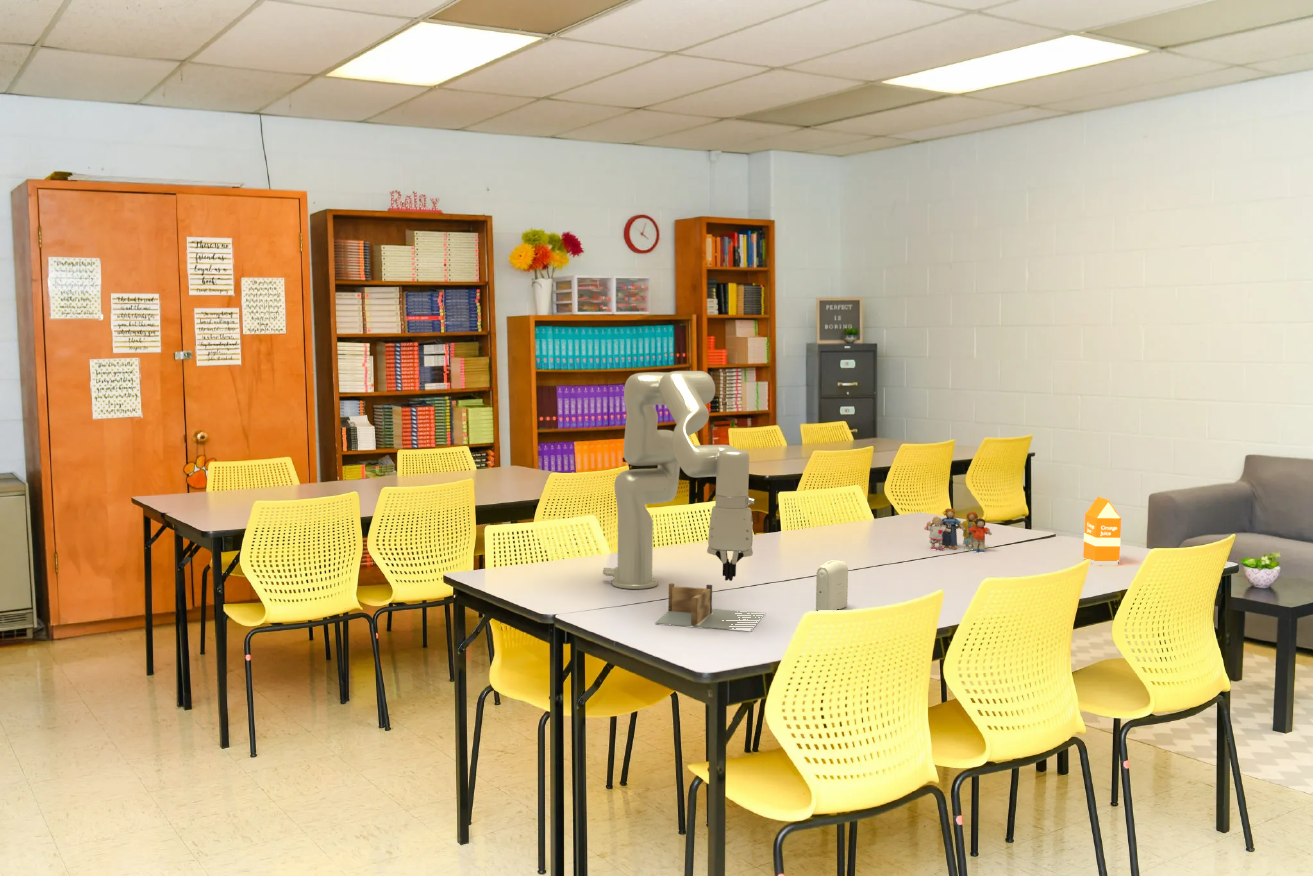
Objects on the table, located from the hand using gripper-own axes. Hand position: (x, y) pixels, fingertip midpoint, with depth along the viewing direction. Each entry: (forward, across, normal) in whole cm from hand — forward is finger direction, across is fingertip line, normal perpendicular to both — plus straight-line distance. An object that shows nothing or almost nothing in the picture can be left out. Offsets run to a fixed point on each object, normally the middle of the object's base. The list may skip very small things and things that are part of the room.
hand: (729, 579), depth 264 cm
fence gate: (+10, +7, -1) cm, 12 cm away
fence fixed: (+11, +10, -9) cm, 17 cm away
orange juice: (+12, -105, -100) cm, 145 cm away
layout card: (+11, +4, -4) cm, 12 cm away
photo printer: (+11, -24, -20) cm, 33 cm away
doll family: (+13, -63, -114) cm, 131 cm away
